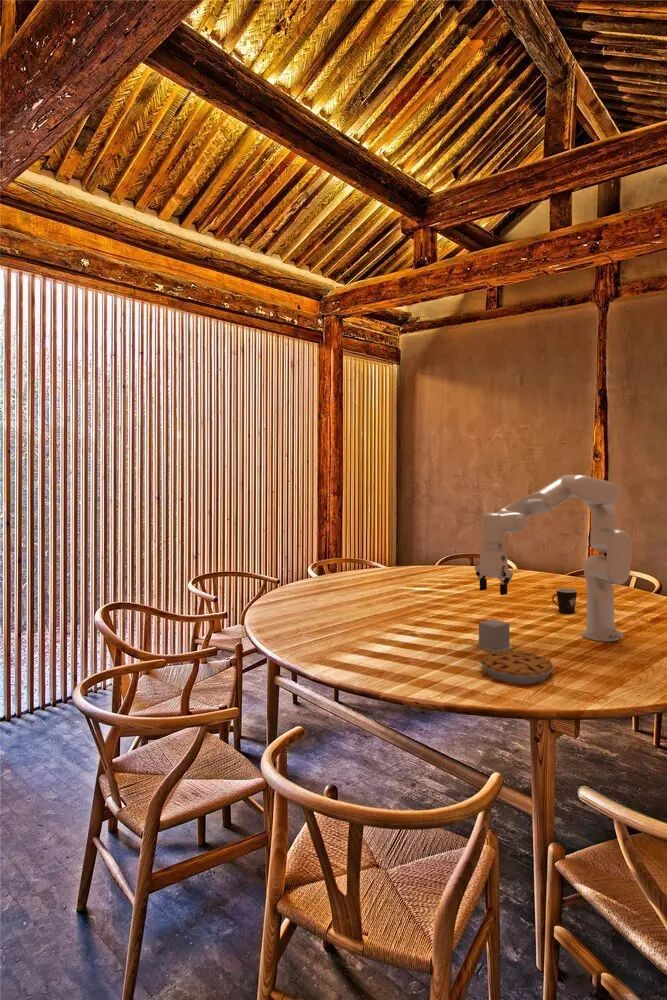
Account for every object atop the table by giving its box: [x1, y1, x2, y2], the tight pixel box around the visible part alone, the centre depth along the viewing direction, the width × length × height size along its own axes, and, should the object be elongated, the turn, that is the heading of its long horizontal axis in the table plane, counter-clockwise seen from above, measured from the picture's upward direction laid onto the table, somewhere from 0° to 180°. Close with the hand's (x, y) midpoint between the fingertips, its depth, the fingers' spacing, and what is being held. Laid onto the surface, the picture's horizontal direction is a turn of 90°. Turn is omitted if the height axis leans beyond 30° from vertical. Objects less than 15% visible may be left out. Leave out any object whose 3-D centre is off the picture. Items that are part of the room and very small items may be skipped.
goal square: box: [474, 643, 515, 653], centre depth 200 cm, size 10×10×1 cm
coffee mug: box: [551, 587, 578, 615], centre depth 244 cm, size 12×9×10 cm
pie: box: [480, 649, 554, 685], centre depth 173 cm, size 22×22×5 cm
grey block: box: [478, 618, 511, 651], centre depth 199 cm, size 8×8×9 cm
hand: (493, 592), depth 199 cm, fingers open, 9 cm apart
